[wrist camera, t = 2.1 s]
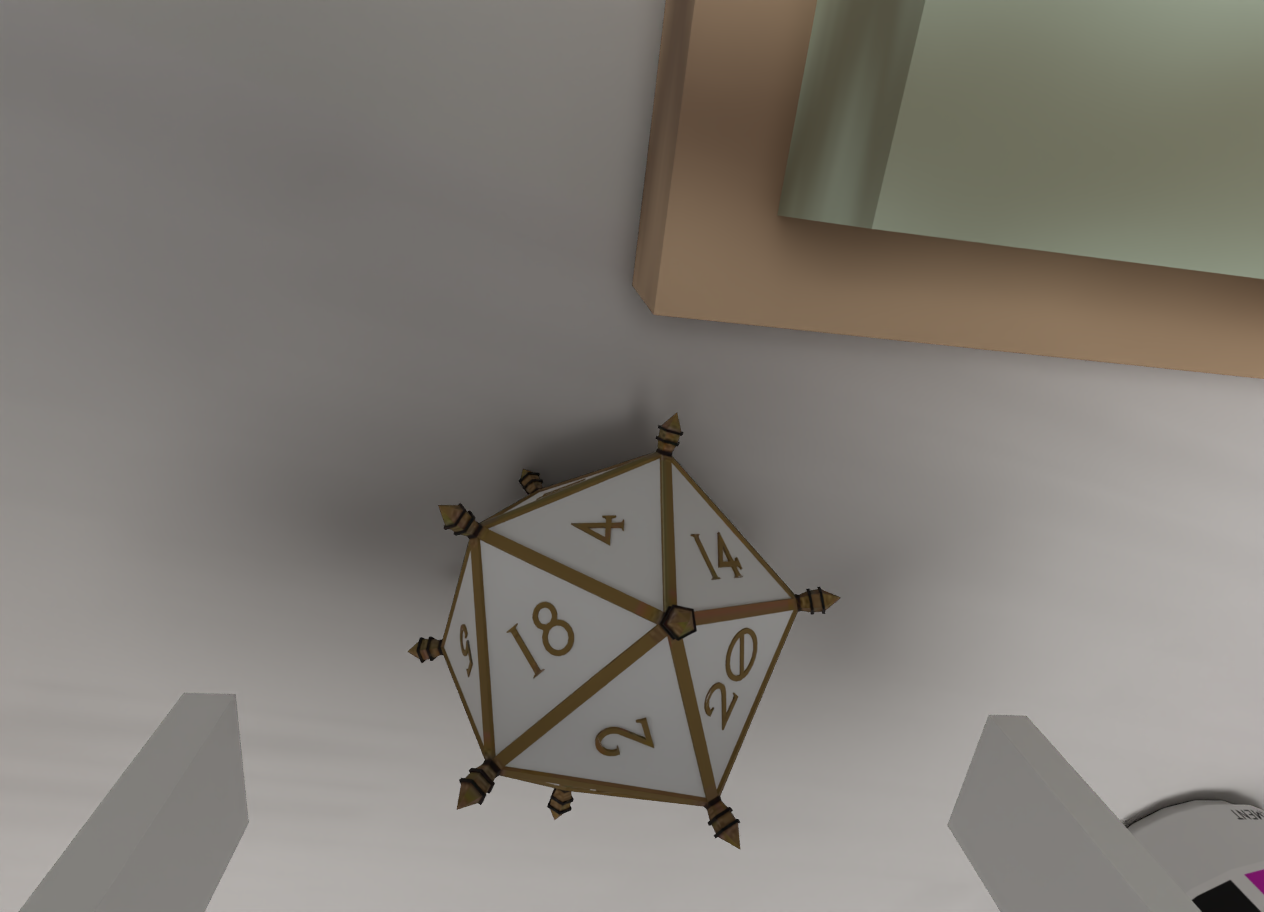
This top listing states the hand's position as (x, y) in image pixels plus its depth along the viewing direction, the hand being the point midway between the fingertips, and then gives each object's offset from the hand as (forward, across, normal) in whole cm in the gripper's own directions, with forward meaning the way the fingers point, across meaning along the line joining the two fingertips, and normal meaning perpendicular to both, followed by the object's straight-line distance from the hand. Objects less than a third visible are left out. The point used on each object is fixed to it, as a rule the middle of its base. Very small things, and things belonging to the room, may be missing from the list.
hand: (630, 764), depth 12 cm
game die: (+8, 0, 0) cm, 8 cm away
